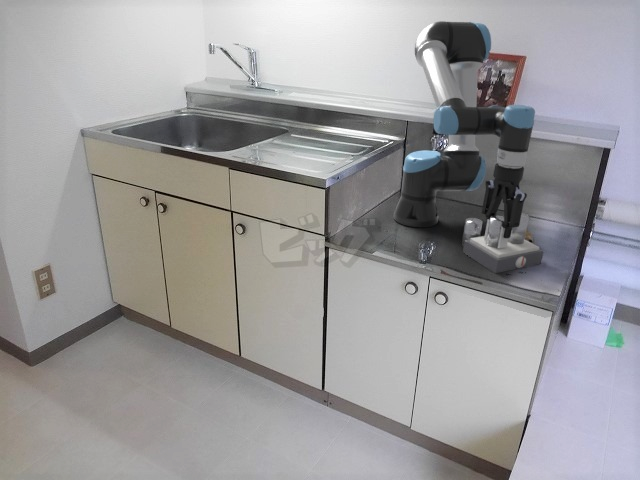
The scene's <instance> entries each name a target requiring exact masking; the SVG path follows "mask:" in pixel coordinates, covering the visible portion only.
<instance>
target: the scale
mask: <svg viewBox="0 0 640 480" xmlns="http://www.w3.org/2000/svg"><path fill="white" fill-rule="evenodd" d="M484 237H485V235H482V236H481V235H480V237H475V238H470V240H466V241H465V243H464V246H463V250H462V253H463V254H464V253H465V254H464V255H465V256H467V255H468V256H467V257H469V258H470V257H471V258H470V259H472V260H474V261H475V262H476V263H478V264H479V265H482V266H483V267H485V268H486V269H488V270H489V271H491V272H492V273H495V274H498V273H502V272H507V271H513V270H517V269H522V268H525V267H533V266H536V265H541V264H542V260H543V256H544V252H545V251H544V250H543V249H541V248H540V246H538V245H536V244H534V243H530V242H529V241H527V240H525V239H524V243H523V244H513V243H510V242H508V243H507V247H505V248H500V249H499V248H493V247H490V246H488V245H486V241H485V240H484Z"/></svg>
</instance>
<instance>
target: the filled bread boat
mask: <svg viewBox="0 0 640 480" xmlns="http://www.w3.org/2000/svg"><path fill="white" fill-rule="evenodd" d="M525 240H527V241H529V242H530V243H532V244H534V238H533V235H532V234H531V232H529V231H528V230H526V234H525Z"/></svg>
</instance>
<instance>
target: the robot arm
mask: <svg viewBox="0 0 640 480" xmlns="http://www.w3.org/2000/svg"><path fill="white" fill-rule="evenodd" d="M491 36H492V35H491V33H490V30H489V28H488V27H487V25H485V24H484V23H481V22H474V21H444V20H443V21H441V20H439V21H436V22H435V21H434V22H433V23H430V24H429V25H427V26H426V27H425V28H424V29H423V30H421V32H420V33H419V35H418V36H417V39H416V40H415V44H414V55H415V60H416V62H417V63H418V65H419V66H420V67H422V69H423V71H424V75H425V77H426V80H427V83H428V86H429V89H430V93H431V95H432V98H433V100H434V102H435V105H436V109H435V111H434V114H433V118H432V120H433V121H432V122H433V129H434V131H435V133H436V134H438V135H447V136H448V145H447V147H445V148H444V150H443V155H442V154H441V152H439V151H436V150H427V149H426V150H424V149H423V150H417V151H413V152H411V153H408V155H407V156H406V157H405V159H404V164H403V167H402V170H403V172H402V182H401V191H400V197H399V200H398V202H397V204H396V208H395V209H394V211H393V219H394V221H396V222H397V223H399V224H401V225H403V226H408V227H412V228H429V227H434V226H436V225H437V224H438V222H439V211H438V207H437V201H436V198H437V192H466V191H467V192H469V191H475V190H477V189H478V188H480V186H481V185H482V184H483V182H484V179H485V176H486V170H487V163H486V159H485V158H484V157H483V156H481V155H480V149H479V148H478V147H477V146H476V136H497V137H499V141H498V142H499V143H498V146H497V147H498V148H497V153H496V160H495V162H496V164H495V165H494V170H493V178H494V179H492V180H491V179H490V180H486V181H485V191H484V198H483V203H482V209H481V214H482V215H485V218H486V219H485V225H484V228H485V233H484V236H485V237H484V240H485V241H486V238H487V233H488V227H489V222H490V217H491V216H494V215H497V213H498V210H499V207H500V205H501V202H502V203H503V216H504V225H503V226H501V232H500V237H499V242H498V247H497V248H499V249H500V248H505V247H507V243H508V238H510V236H511V231H512V228H514V227H519V224H520V219H521V214H522V213H523V208H524V202H525V200H526V198H527V197H528V194H527V193H526V192H522V191H521V190H520V182H521V181H522V180H523V178H524V177H523V176H524V172H525V167H524V166H525V165H526V164H527V163H526V162H527V156H528V153H529V152H528V150H529V147H530V141H531V136H532V132H533V127H534V125H535V114H536V111H535V108H534V107H532V106H529V105H528V106H527V105H524V104H509V105H507V106H506V107H504V106H502V105H495V104H493V105H490V106H488V107H487V106H485V107H484V106H481V107H480V106H479V107H478V105H477V102H478V101H477V100H478V98H477V97H478V78H479V76H478V75H479V74H478V73H479V70H480V69H481V68H482V67H483V66H484V62H485V61H487V60H488V58H489V56H490V53H491V52H490V51H491V50H492V37H491ZM509 222H510V223H509Z"/></svg>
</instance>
